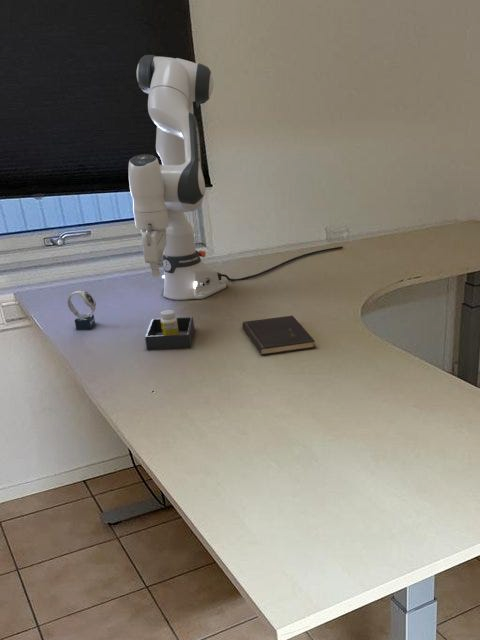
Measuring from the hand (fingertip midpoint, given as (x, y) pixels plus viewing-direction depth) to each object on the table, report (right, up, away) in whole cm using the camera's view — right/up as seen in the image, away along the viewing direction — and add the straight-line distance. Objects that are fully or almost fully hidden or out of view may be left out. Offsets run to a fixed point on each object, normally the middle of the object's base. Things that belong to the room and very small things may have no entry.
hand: (158, 271), depth 211 cm
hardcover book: (+33, -17, +10) cm, 38 cm away
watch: (-27, -12, +20) cm, 36 cm away
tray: (+1, -18, +10) cm, 20 cm away
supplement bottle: (+1, -18, +10) cm, 20 cm away
